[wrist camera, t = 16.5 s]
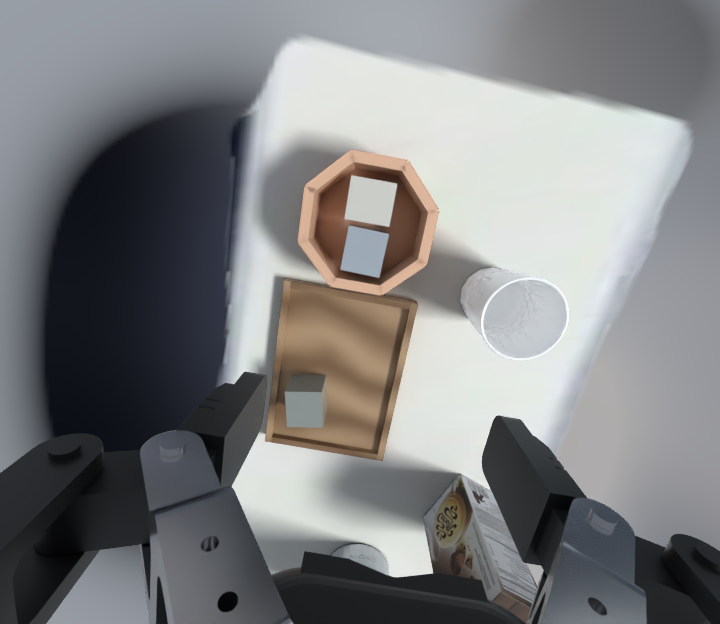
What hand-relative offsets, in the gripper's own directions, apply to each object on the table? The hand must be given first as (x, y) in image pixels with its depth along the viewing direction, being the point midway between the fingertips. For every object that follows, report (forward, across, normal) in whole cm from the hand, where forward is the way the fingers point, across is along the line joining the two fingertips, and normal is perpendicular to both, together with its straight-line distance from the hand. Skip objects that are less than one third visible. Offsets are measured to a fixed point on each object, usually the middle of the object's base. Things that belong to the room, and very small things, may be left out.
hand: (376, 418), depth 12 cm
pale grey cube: (+29, +2, -8) cm, 30 cm away
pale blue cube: (+29, +1, -3) cm, 29 cm away
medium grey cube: (+30, +5, +16) cm, 34 cm away
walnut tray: (+30, +2, +13) cm, 33 cm away
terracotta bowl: (+30, +2, -6) cm, 31 cm away
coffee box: (+30, -18, +30) cm, 46 cm away
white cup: (+30, -14, 0) cm, 33 cm away
